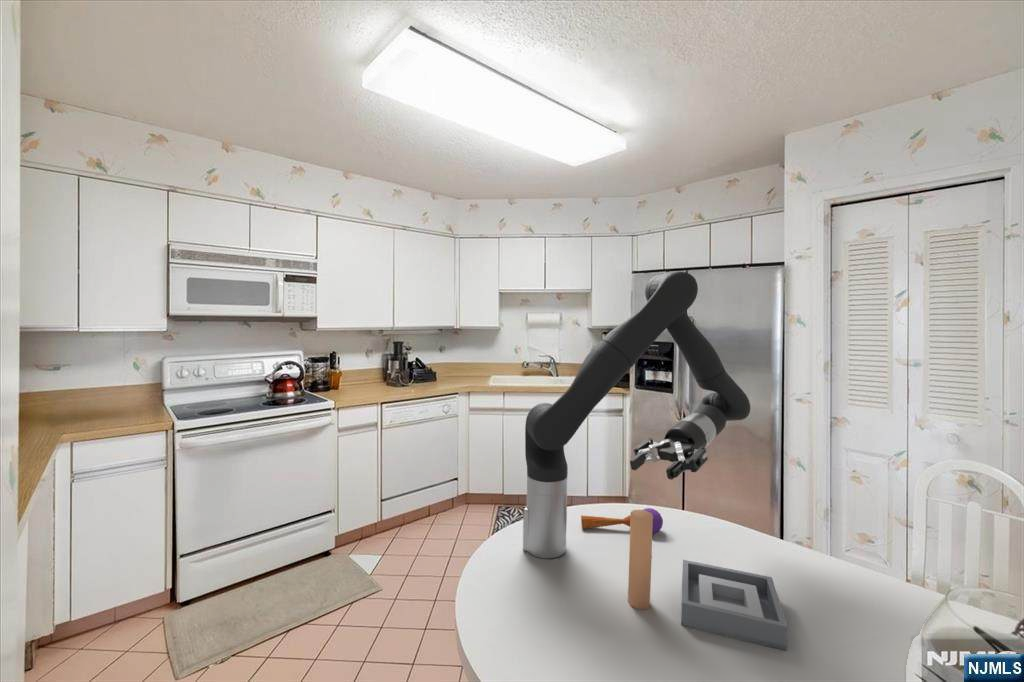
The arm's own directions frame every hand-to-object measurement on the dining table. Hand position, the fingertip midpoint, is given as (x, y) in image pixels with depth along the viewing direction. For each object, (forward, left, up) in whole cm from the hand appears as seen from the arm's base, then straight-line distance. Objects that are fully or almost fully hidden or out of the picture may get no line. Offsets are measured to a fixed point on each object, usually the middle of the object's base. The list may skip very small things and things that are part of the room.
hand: (649, 470), depth 90 cm
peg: (-1, -8, -23) cm, 24 cm away
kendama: (-8, +20, -23) cm, 32 cm away
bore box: (+15, -4, -23) cm, 28 cm away
